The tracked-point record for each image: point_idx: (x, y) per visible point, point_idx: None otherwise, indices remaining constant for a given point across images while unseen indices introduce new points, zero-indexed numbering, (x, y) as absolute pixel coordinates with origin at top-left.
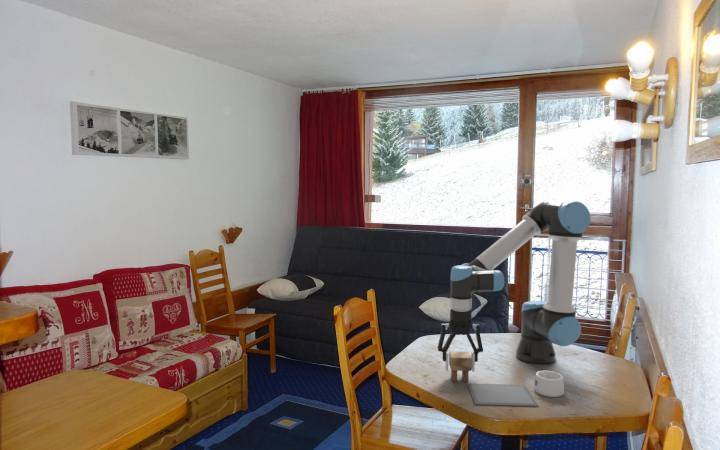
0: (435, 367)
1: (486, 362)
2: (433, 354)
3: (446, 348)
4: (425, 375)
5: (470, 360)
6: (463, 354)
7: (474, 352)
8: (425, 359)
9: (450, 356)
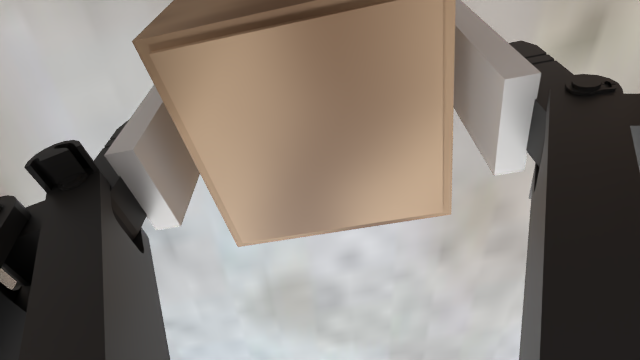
0: (477, 183)
1: (197, 291)
2: (461, 313)
3: (586, 123)
4: (587, 34)
5: (154, 26)
6: (275, 158)
7: (114, 186)
8: (516, 262)
9: (449, 88)
